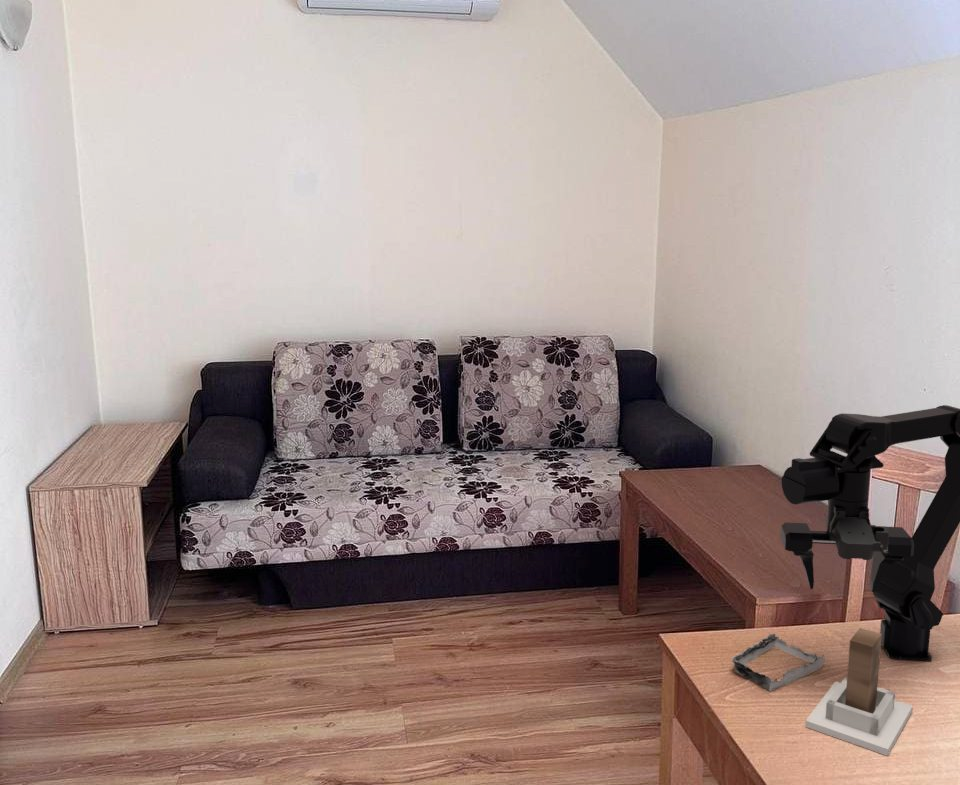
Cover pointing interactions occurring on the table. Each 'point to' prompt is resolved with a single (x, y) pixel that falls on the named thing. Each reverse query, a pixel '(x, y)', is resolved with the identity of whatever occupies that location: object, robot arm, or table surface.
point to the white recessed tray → (860, 719)
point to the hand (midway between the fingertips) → (841, 589)
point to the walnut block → (863, 670)
